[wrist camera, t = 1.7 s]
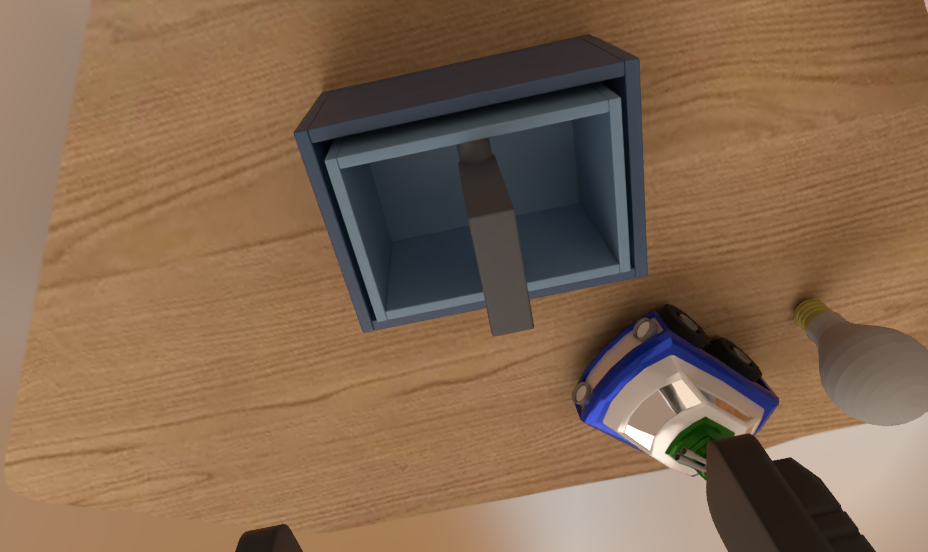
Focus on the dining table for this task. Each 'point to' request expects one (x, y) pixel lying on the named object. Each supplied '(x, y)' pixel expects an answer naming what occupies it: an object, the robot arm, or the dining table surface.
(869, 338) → the light bulb
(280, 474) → the dining table surface
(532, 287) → the light blue bin
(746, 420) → the toy car
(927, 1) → the bowl
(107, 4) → the dining table surface
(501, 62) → the dark blue bin
